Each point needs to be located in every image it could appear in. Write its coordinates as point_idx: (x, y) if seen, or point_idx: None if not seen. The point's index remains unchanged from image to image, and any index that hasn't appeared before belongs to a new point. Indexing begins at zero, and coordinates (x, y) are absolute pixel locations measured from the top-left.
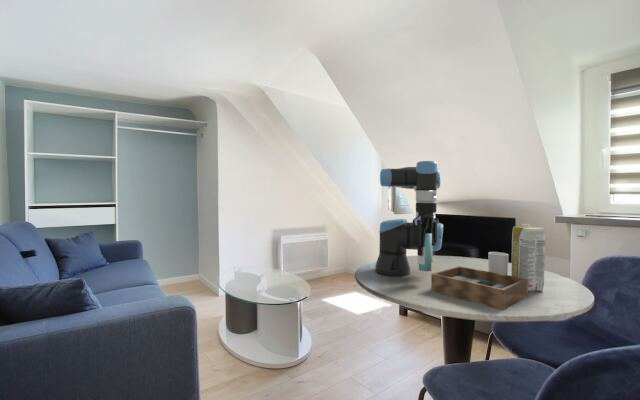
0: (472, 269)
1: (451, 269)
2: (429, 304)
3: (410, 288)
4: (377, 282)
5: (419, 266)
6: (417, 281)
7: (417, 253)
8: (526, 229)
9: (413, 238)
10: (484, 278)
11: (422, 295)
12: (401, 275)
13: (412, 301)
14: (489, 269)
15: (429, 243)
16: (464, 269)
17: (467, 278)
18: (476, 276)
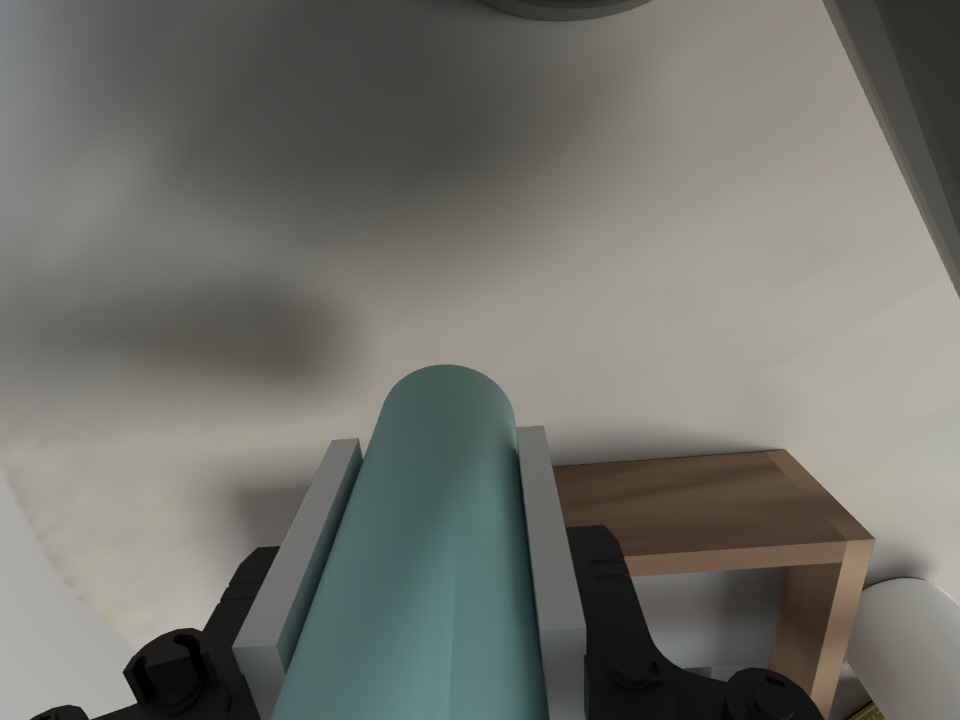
0: (820, 649)
1: (658, 573)
2: (139, 615)
3: (252, 368)
4: (58, 42)
5: (379, 418)
6: (478, 262)
7: (237, 570)
8: None
9: (953, 42)
10: (774, 669)
11: (217, 511)
12: (495, 5)
13: (69, 546)
14: (938, 700)
15: None
16: (823, 580)
17: (703, 596)
18: (782, 628)
